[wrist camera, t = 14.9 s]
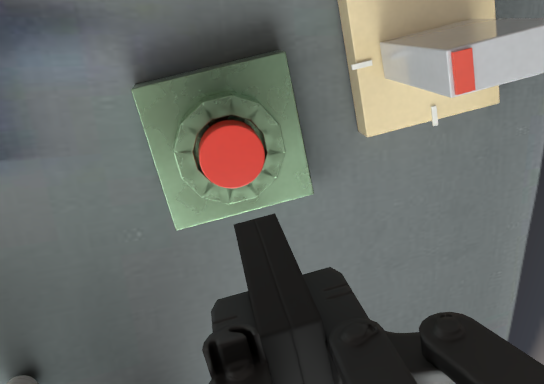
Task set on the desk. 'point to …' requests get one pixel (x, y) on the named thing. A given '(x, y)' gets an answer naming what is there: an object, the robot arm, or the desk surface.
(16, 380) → the lightbulb
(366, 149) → the desk surface
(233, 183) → the stop button
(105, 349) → the desk surface
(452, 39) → the tap handle
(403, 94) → the panel
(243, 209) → the control block
